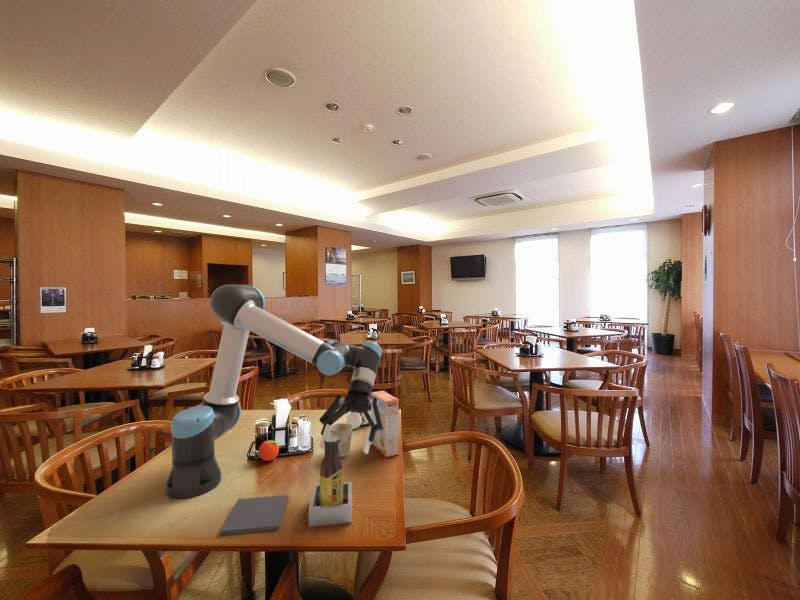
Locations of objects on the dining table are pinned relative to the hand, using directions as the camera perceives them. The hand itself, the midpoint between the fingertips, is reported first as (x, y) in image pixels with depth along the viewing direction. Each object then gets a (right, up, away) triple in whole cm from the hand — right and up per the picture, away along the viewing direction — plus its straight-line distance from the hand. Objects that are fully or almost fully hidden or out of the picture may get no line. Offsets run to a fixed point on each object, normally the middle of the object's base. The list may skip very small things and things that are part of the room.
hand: (343, 449), depth 103 cm
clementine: (-31, -15, +26) cm, 43 cm away
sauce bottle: (-2, -15, -4) cm, 16 cm away
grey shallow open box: (-2, -15, -4) cm, 16 cm away
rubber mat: (-22, -15, -6) cm, 28 cm away
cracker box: (+11, -14, +34) cm, 38 cm away
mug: (-6, -15, +28) cm, 32 cm away
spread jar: (-2, -14, +59) cm, 61 cm away
